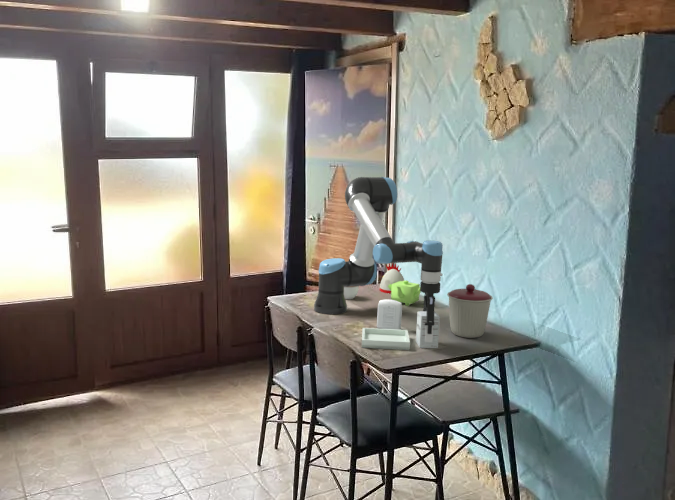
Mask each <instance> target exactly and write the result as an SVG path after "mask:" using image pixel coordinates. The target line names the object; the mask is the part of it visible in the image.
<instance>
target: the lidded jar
mask: <svg viewBox="0 0 675 500" xmlns="http://www.w3.org/2000/svg"><path fill="white" fill-rule="evenodd" d="M359 289H360V286H350V287H344V297H345V300H354V299H355V297H356V296H357V295H358V293H359Z"/></svg>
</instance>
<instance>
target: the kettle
mask: <svg viewBox="0 0 675 500" xmlns="http://www.w3.org/2000/svg"><path fill="white" fill-rule="evenodd" d="M388 288H389V289H390V290H391V294H390V300H395V301H398V302H400V303H402V304H403V303H404V305H405V307H407V306H408V307H410V305H411V304H415V303H416V302H419V300H420V295H421V293H422V292H421V291H420V283H414V282H409V280H406V279H404V281H399V282H396V283H393V284H392V285H391V284H389V285H388Z"/></svg>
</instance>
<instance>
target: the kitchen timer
mask: <svg viewBox="0 0 675 500" xmlns="http://www.w3.org/2000/svg"><path fill="white" fill-rule="evenodd" d="M399 267H400V266H399V265H397V263H389V264H385V268H386V269H387V271H386V272H385V273H384V275H382V277H381V281H380V284H379V291H380V292H381V293H384V294H388V293H389V295H391V290H390V289H389V288H388V285H389V284H391V285H392V284H393V283H396V282H399V281H404V280H405V278H404V275H403V274H402V272H401V271H402V267H401V268H399Z"/></svg>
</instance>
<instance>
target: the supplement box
mask: <svg viewBox="0 0 675 500" xmlns="http://www.w3.org/2000/svg"><path fill="white" fill-rule="evenodd" d="M416 313H417V315H416V329H415V330H416V331H415V332H416V333H415V343H416V344H417V346H418V347H419V349H438V348H439V337H440V333H439V332H440V323H441V322H440V321H441V316H440V315H439V314H438V313H437V312H436V311H434V325H433V340H432V342H425V332H426V325H425V323H427V311H423V310H420V311H417V312H416ZM429 322H432V321H429Z"/></svg>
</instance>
